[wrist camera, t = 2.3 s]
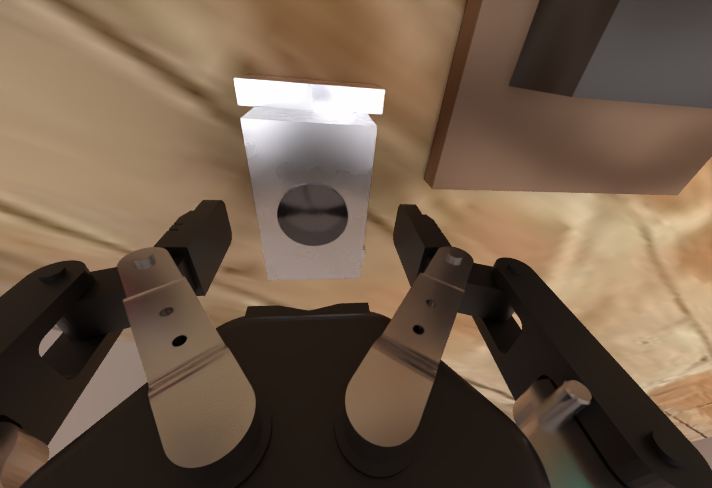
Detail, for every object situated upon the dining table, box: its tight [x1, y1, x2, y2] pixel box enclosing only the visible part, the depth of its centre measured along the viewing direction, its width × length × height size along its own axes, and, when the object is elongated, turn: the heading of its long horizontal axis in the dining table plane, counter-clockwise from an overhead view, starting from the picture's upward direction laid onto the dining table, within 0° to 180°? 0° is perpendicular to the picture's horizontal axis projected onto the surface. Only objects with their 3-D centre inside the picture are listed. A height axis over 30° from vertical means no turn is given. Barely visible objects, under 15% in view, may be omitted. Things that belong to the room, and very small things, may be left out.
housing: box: [234, 74, 385, 280], centre depth 14 cm, size 10×6×5 cm, turn 175°
